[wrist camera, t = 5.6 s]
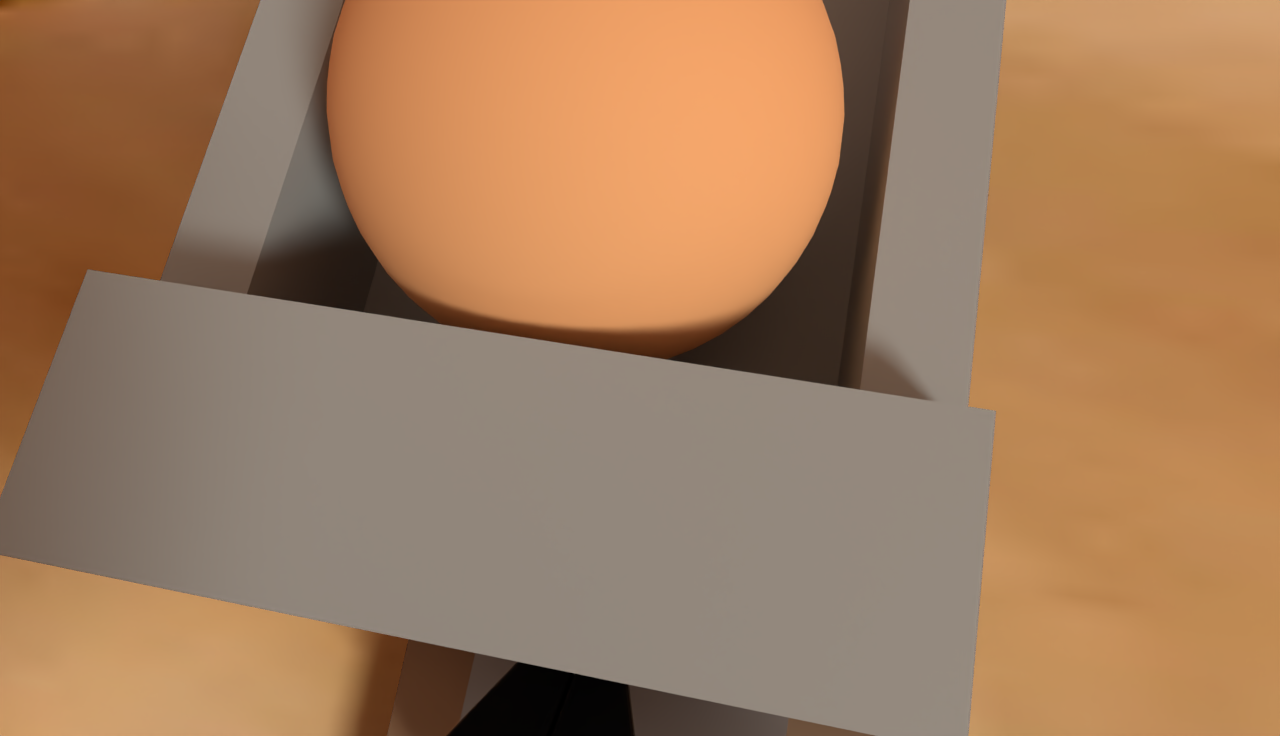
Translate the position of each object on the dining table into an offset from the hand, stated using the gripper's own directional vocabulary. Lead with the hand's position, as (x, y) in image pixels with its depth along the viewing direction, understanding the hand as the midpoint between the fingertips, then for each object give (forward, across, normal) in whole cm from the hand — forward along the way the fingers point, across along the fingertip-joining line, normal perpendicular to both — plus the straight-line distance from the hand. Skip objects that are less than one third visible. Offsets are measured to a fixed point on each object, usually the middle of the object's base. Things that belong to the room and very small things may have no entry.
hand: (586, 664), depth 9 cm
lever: (+6, 0, +5) cm, 8 cm away
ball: (0, 0, -6) cm, 6 cm away
